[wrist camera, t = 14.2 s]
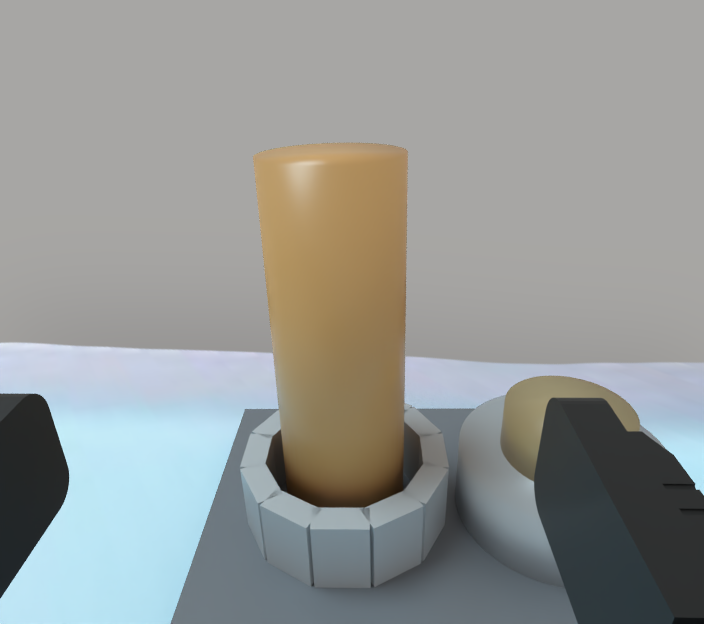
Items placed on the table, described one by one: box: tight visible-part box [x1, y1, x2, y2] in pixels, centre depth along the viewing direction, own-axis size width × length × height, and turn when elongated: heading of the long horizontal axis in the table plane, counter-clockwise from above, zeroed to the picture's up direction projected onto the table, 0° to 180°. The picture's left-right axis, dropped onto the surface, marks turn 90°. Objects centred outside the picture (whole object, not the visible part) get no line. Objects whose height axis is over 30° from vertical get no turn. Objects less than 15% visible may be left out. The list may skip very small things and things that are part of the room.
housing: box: [171, 376, 665, 624], centre depth 23 cm, size 20×14×6 cm
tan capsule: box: [253, 143, 408, 508], centre depth 21 cm, size 5×5×15 cm
